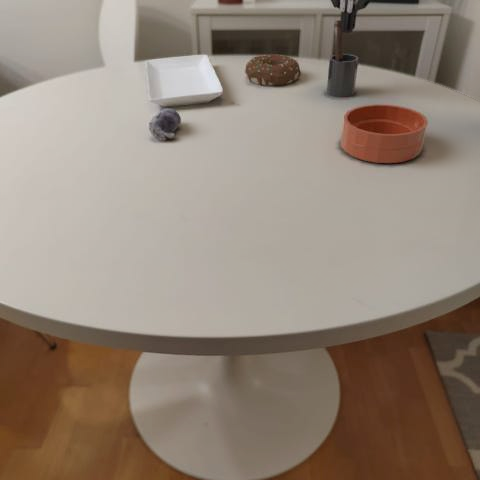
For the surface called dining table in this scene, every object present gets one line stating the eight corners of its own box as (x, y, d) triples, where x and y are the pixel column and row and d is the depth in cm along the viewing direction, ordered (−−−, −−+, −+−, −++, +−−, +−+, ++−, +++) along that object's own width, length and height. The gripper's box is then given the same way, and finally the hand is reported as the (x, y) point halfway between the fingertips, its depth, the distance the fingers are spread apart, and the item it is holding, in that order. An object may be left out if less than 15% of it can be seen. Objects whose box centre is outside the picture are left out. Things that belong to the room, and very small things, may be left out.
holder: (336, 88, 109) (340, 52, 104) (359, 94, 105) (364, 57, 100) (320, 95, 106) (323, 58, 100) (343, 101, 102) (348, 63, 97)
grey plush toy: (166, 150, 89) (173, 131, 97) (181, 128, 86) (186, 110, 94) (142, 134, 87) (151, 116, 95) (156, 111, 84) (164, 94, 92)
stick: (339, 89, 106) (337, 18, 94) (345, 91, 105) (343, 19, 93) (335, 93, 105) (332, 21, 93) (341, 94, 104) (339, 22, 93)
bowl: (367, 127, 91) (371, 99, 88) (434, 146, 84) (442, 116, 80) (325, 150, 84) (328, 121, 80) (394, 174, 76) (401, 142, 73)
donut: (243, 74, 120) (242, 53, 117) (295, 71, 120) (296, 50, 117) (247, 92, 109) (246, 69, 106) (303, 89, 110) (305, 66, 106)
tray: (150, 114, 100) (147, 98, 98) (146, 72, 124) (144, 58, 121) (225, 107, 102) (224, 91, 100) (208, 67, 126) (207, 53, 123)
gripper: (400, -73, 84) (383, 33, 95) (340, -74, 91) (331, 24, 103) (378, -69, 80) (363, 40, 91) (317, -71, 87) (310, 31, 99)
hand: (346, 31), depth 97 cm, fingers closed
